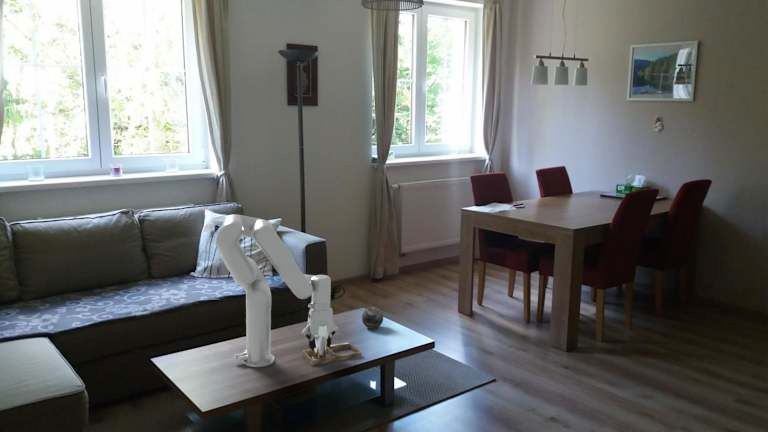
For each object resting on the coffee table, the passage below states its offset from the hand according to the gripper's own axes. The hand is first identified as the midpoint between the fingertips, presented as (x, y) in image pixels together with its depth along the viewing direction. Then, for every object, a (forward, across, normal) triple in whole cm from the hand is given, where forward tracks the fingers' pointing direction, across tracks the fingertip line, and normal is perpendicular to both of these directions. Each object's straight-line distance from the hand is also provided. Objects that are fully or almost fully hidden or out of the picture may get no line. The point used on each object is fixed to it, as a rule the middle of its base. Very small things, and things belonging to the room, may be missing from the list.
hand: (319, 347), depth 254 cm
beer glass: (+5, 0, 0) cm, 5 cm away
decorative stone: (+5, +35, +22) cm, 42 cm away
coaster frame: (+5, +5, 0) cm, 7 cm away
